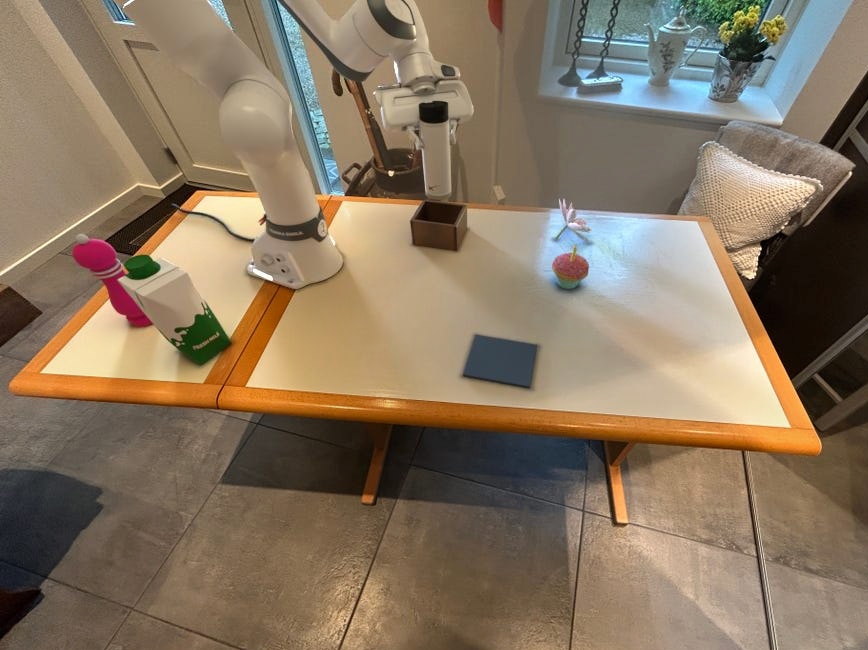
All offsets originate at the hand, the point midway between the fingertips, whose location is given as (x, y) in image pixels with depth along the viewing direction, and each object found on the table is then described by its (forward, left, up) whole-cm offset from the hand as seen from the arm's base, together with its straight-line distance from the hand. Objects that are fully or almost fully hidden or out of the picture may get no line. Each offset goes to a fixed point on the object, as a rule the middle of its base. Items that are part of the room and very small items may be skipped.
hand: (437, 146), depth 88 cm
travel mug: (0, 0, -12) cm, 12 cm away
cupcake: (+34, -10, -24) cm, 43 cm away
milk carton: (-36, -48, -24) cm, 65 cm away
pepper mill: (-54, -43, -24) cm, 73 cm away
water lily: (+34, +10, -24) cm, 43 cm away
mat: (+23, -38, -24) cm, 50 cm away
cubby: (-1, +2, -24) cm, 24 cm away
